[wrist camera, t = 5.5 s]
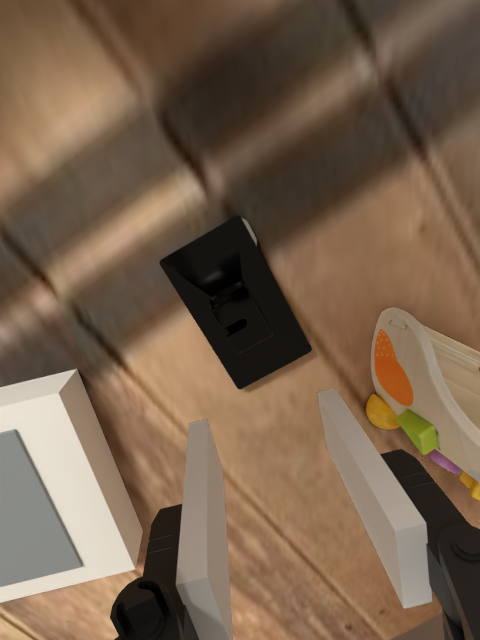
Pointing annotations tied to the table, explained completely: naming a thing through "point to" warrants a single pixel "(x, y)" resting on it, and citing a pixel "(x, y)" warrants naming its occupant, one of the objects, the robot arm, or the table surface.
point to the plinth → (59, 491)
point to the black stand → (236, 302)
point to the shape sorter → (428, 392)
